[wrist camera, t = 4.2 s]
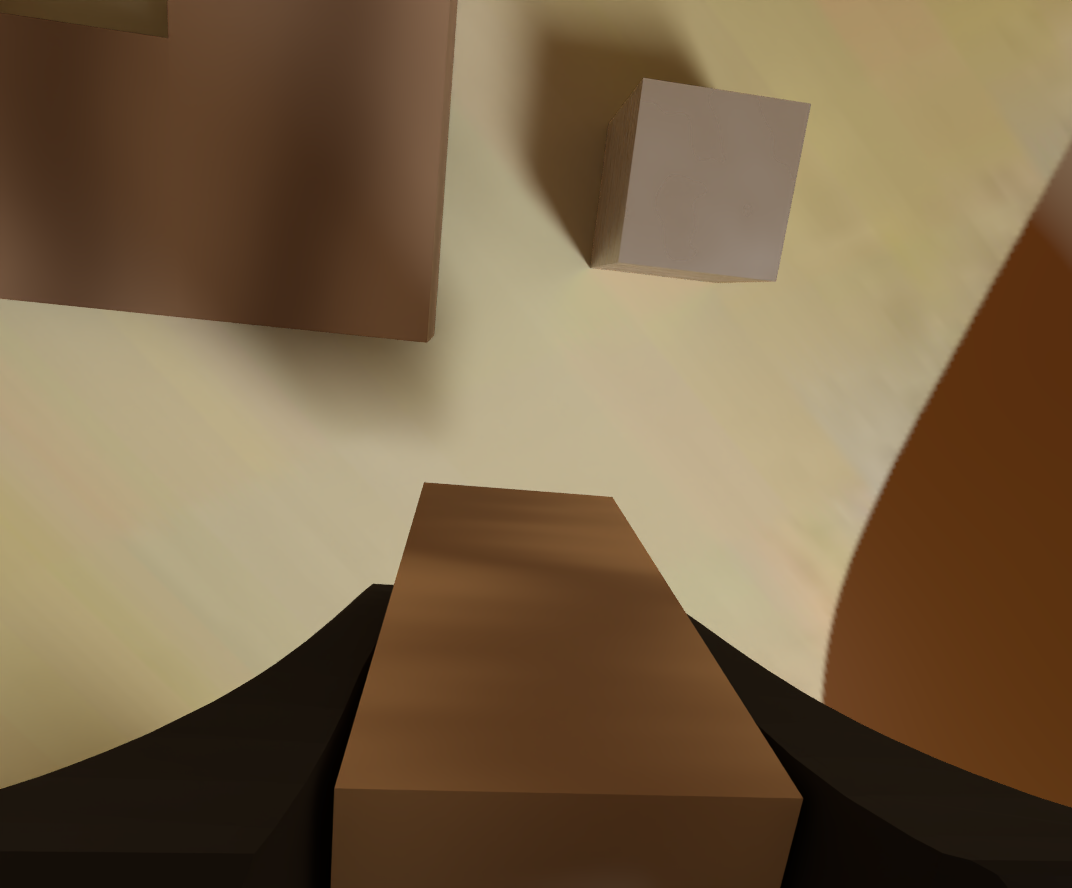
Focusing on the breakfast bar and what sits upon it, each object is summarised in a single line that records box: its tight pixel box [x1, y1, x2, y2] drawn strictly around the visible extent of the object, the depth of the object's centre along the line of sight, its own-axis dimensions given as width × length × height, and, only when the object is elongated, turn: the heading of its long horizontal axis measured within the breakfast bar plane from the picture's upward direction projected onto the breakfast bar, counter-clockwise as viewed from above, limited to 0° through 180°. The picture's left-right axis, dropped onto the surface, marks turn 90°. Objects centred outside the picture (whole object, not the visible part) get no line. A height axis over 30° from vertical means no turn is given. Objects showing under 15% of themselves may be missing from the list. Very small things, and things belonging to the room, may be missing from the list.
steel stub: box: [590, 78, 811, 283], centre depth 16 cm, size 4×4×4 cm
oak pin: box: [331, 482, 803, 888], centre depth 9 cm, size 4×4×8 cm
